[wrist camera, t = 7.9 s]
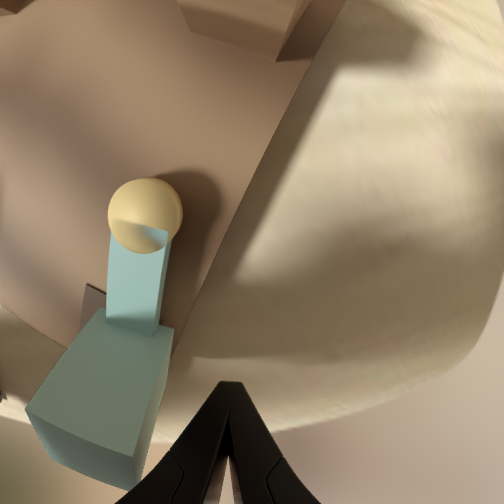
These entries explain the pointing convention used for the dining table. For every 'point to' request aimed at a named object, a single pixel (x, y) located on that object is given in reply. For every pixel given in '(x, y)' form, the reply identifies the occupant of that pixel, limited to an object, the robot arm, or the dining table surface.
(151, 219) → the hinged leg
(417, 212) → the dining table surface
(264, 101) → the stool seat
